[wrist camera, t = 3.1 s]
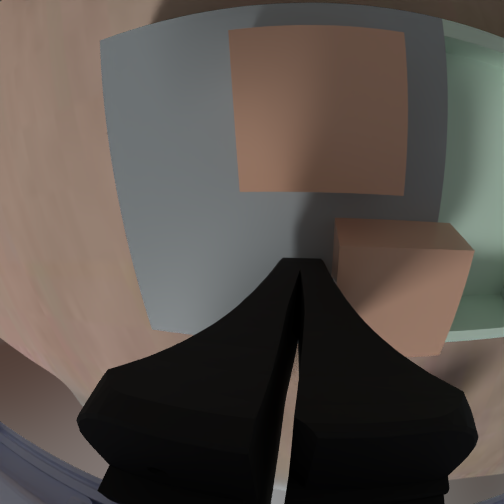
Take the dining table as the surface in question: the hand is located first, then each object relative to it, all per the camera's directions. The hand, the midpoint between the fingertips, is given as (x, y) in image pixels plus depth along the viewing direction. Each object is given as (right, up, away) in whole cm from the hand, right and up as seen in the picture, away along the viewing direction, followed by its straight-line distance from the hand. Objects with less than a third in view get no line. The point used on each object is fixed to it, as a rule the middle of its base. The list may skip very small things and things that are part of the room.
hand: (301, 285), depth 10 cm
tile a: (+3, 0, 0) cm, 3 cm away
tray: (+8, +4, +1) cm, 9 cm away
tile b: (0, +5, -2) cm, 5 cm away
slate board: (0, +4, +2) cm, 5 cm away
